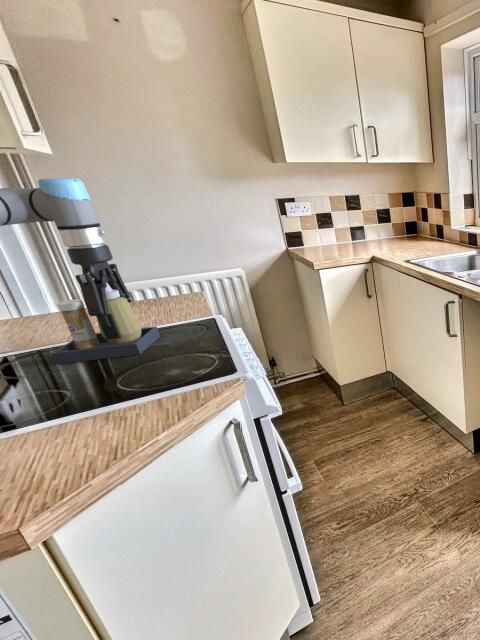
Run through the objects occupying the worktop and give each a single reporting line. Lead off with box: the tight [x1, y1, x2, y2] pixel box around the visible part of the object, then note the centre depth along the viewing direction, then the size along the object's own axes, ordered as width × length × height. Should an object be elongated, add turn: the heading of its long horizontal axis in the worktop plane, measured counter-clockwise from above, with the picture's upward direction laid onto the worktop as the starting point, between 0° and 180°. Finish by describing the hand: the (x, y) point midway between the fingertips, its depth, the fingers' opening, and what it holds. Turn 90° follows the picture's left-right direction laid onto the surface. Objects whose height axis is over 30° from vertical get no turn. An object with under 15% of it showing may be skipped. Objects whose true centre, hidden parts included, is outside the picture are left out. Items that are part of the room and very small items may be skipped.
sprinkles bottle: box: [56, 298, 101, 350], centre depth 108 cm, size 5×5×14 cm
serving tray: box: [50, 326, 161, 365], centre depth 111 cm, size 17×13×3 cm
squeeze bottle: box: [95, 282, 142, 346], centre depth 109 cm, size 8×8×18 cm
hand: (122, 332), depth 111 cm, fingers closed on squeeze bottle, 8 cm apart
